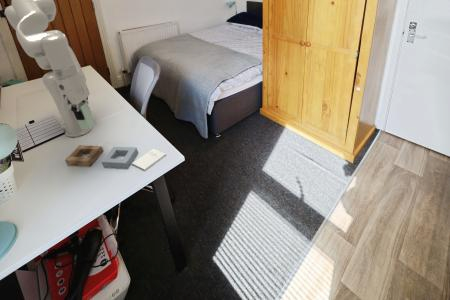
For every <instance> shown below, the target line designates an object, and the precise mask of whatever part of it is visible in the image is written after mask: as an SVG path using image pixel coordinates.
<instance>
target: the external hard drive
mask: <svg viewBox="0 0 450 300" xmlns="http://www.w3.org/2000/svg"><path fill="white" fill-rule="evenodd" d="M164 156H165V157H166V156H167V154H166V153H165V152H162V151H161V150H158V149H155V148H152V149H150V150H149V151H147V152H146V153H145V154H143V155H141V156H140V157H139V158H137V159H136V160H133V162H132V163H131V165H132V166H134V167H135V168H137V169H139V170H141V171H144V172H147V171H148V170H149V169H150V168H152V167H153V166H155V164H157V163H158V162H160V161H161V160H162V159H163V157H164ZM165 157H164V158H165ZM160 159H161V160H160Z"/></svg>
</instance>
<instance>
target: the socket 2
mask: <svg viewBox="0 0 450 300" xmlns="http://www.w3.org/2000/svg"><path fill="white" fill-rule="evenodd" d="M138 154H139V150H138V148H137V147H134V146H132V147H131V146H113V147H112V148H111V149H110V150H109V151H108V153H107V154H106V156H105V157H104V158H103V159H102V161H101V164H102V167H103V168H109V169H127V170H128V169H129V168H130V166H131V165H132V163H133V162H134V161H135V159H136V157H137V156H138ZM118 156H121V157H123V156H124V157H123V158H118Z"/></svg>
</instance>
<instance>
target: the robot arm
mask: <svg viewBox="0 0 450 300" xmlns="http://www.w3.org/2000/svg"><path fill="white" fill-rule="evenodd" d="M4 14H5V17H6V19H7V21H8V22H9V24H10V25H11V27H12V28H13V30H15V34H16V38H17V41H18V42H19V44H20V46H21V47H22V50H23V52H25V54H27V56H29V57H30V58H33V59H35V62H36V63H37V65H38V66H39V68H41V70H50V71H49V72H47V73H45V74H44V75H43V76H42V79H41V80H42V83H43V85H44V87H45V88H46V90H47V91H48V93H49V94H50V95H51V96H50V97H51V98H52V100H53V101H54V104H55V107H56V108H57V110H58V112H59V114H60V116H61V118H62V119H61V120H62V121H63V122H61V123H60V129H65V135H66V136H67V137H69V138H77V137H82V136H84V135H86V134H88V133H89V132H91V131H92V128H93V127H92V128H91V129H81V128H80V125H79V123H78V121H77V120H84V116H83V114H82V111H81V110H80V109H79V106H78V104H79V103H80V102H87V104H88V105H89V101H88V100H89V96H90V95H91V94H90V91H89V88H88V85H87V84H86V83H87V78H86V75H85V73H84V70H83V68H82V67H81V64H80V63H79V61H78V59H77V56H76V54H75V52H74V51H73V49H72V48H71V46H70V45H69V40H68V38H67V36H66V34H65V33H63V32H62V31H60V30H58V29H53V30H47V28H48V27H49V23H50V22H53V21H54V20H55V17H56V15H57V7H56V4H55V1H54V0H11V5H9V6H6V8H4ZM46 30H47V31H46ZM51 70H52V71H51ZM73 105H75V107H76V108H75V107H74V106H73ZM89 109H90V107H89ZM90 110H91V109H90Z"/></svg>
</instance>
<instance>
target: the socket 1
mask: <svg viewBox="0 0 450 300" xmlns="http://www.w3.org/2000/svg"><path fill="white" fill-rule="evenodd" d="M103 153H104V149H103V147H102V145H83V144H82V145H80V144H79V145H78V146H77V147H76V148H75V149H74V150H73V151H72V152H71V153H70V154H69V155H68V156H67V157H66V158H65V163H66V165H67V167H68V166H69V167H70V166H71V167H88V168H89V167H92V166H93V165H94V163H95V162H96V161H97V160H98V159H99V157H100V156H101V155H102V154H103ZM83 155H87V156H84V157H83Z"/></svg>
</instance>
